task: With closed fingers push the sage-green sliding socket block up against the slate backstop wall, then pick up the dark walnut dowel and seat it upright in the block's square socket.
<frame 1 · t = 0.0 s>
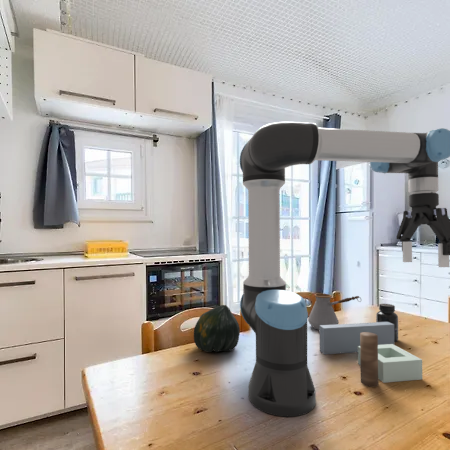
hand: (424, 264, 91), 28 cm above the table, fingers open, 13 cm apart
coffee pot: (334, 331, 116), on the table
squash: (217, 349, 99), on the table
dowel: (369, 382, 76), on the table
supplement bottle: (387, 339, 107), on the table
backstop wall: (357, 350, 97), on the table
socket block: (388, 361, 83), point 2 cm above the table, slide at 0.0 cm
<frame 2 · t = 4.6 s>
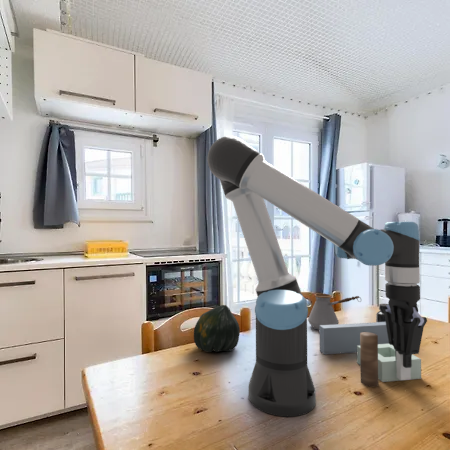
hand: (403, 378, 76), 1 cm above the table, fingers closed
socket block: (387, 361, 83), point 2 cm above the table, slide at 0.4 cm, touching gripper
everything else where it was.
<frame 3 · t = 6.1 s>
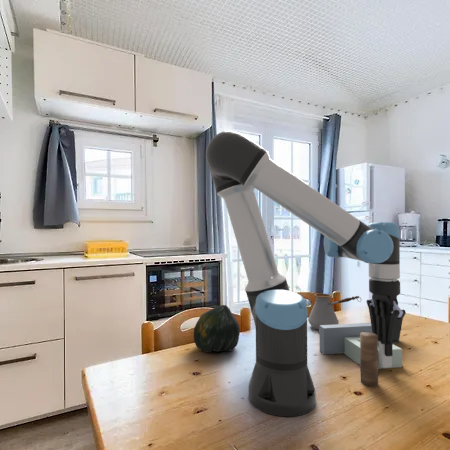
hand: (385, 366, 83), 1 cm above the table, fingers closed
socket block: (371, 351, 90), point 2 cm above the table, slide at 7.2 cm, touching gripper
everything else where it was.
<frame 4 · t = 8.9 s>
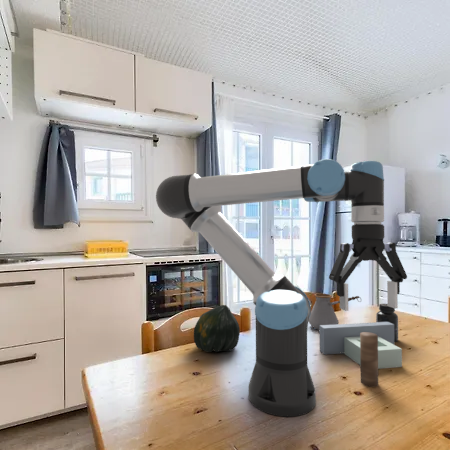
hand: (368, 308, 77), 19 cm above the table, fingers open, 13 cm apart
socket block: (371, 351, 90), point 2 cm above the table, slide at 7.3 cm
everything else where it was.
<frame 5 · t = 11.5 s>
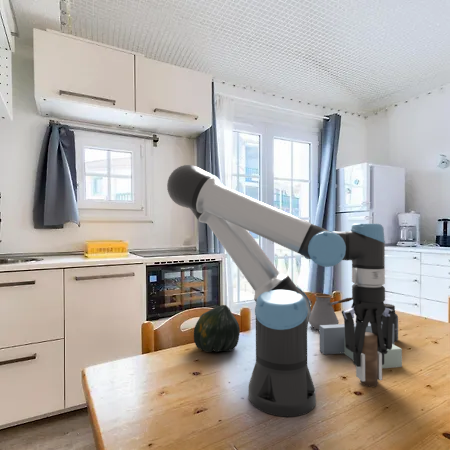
hand: (368, 377, 77), 1 cm above the table, fingers closed on dowel, 4 cm apart
dowel: (368, 382, 76), on the table, touching gripper
everything else where it was.
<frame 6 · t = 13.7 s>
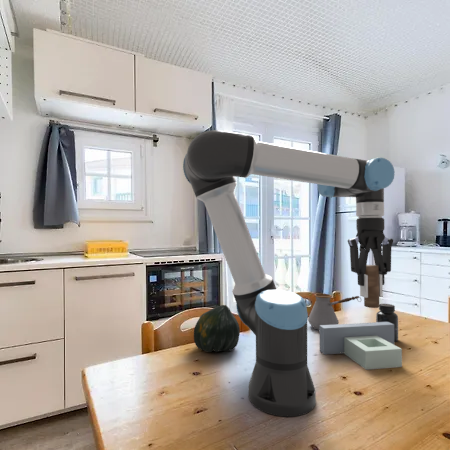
hand: (371, 296, 90), 19 cm above the table, fingers closed on dowel, 4 cm apart
dowel: (371, 306, 90), point 16 cm above the table, touching gripper
everything else where it was.
when the fingers open (6 cm above the table, at t = 16.3 s): dowel stays where it is, resting on socket block.
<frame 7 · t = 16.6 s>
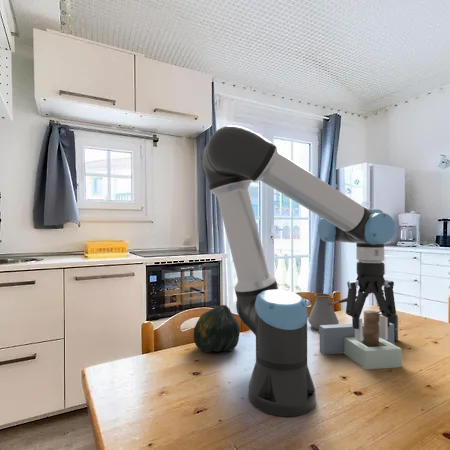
hand: (371, 338, 90), 6 cm above the table, fingers open, 7 cm apart
dowel: (371, 353, 90), point 2 cm above the table, touching socket block
socket block: (371, 351, 90), point 2 cm above the table, slide at 7.3 cm, touching dowel
everything else where it was.
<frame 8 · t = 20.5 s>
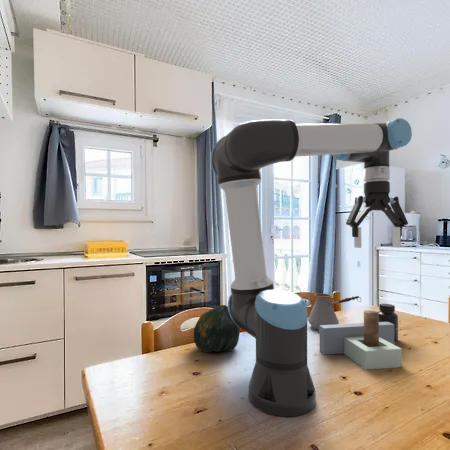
hand: (377, 247, 98), 33 cm above the table, fingers open, 13 cm apart
nothing on the table moved.
at the end: socket block slide at 7.3 cm; dowel 0.0 cm off-centre on the socket block, point 2.0 cm above the socket block's base; dowel tilted 0° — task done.
